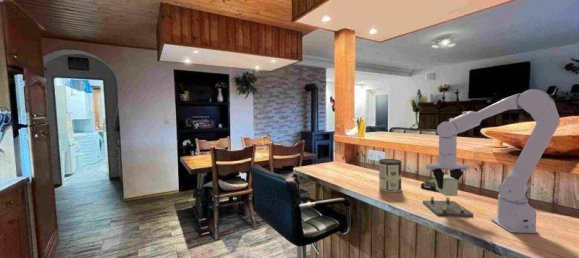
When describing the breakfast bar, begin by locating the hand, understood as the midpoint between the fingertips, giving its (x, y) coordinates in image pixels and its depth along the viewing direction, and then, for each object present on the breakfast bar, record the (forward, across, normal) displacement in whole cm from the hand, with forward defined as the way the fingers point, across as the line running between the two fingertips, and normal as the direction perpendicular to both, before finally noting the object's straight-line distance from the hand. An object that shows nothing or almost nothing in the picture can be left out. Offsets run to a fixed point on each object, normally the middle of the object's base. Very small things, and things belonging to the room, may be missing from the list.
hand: (446, 188), depth 97 cm
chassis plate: (+8, 0, 0) cm, 8 cm away
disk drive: (+9, -10, -29) cm, 32 cm away
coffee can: (+8, +14, -25) cm, 30 cm away
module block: (+2, 0, 0) cm, 2 cm away
